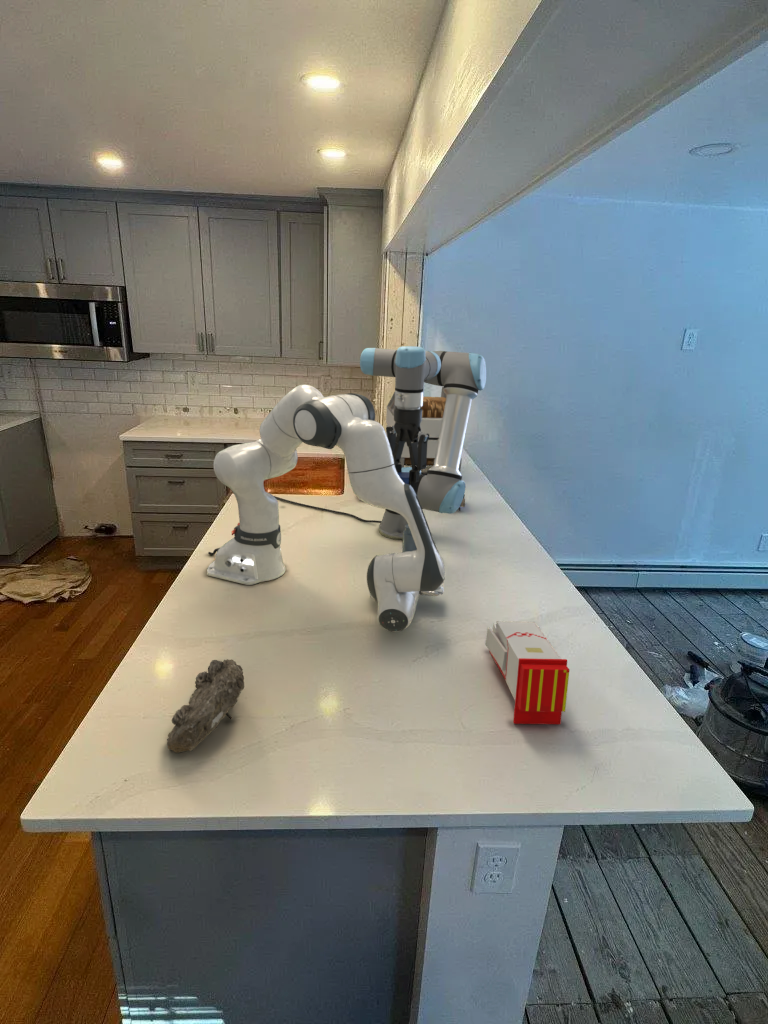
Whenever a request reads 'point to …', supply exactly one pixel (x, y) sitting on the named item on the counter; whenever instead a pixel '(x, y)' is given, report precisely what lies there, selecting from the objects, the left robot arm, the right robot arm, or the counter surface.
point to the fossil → (206, 705)
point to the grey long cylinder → (408, 540)
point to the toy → (530, 671)
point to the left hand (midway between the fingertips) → (409, 568)
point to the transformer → (423, 426)
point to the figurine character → (462, 503)
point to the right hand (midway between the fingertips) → (404, 489)
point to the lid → (404, 477)
